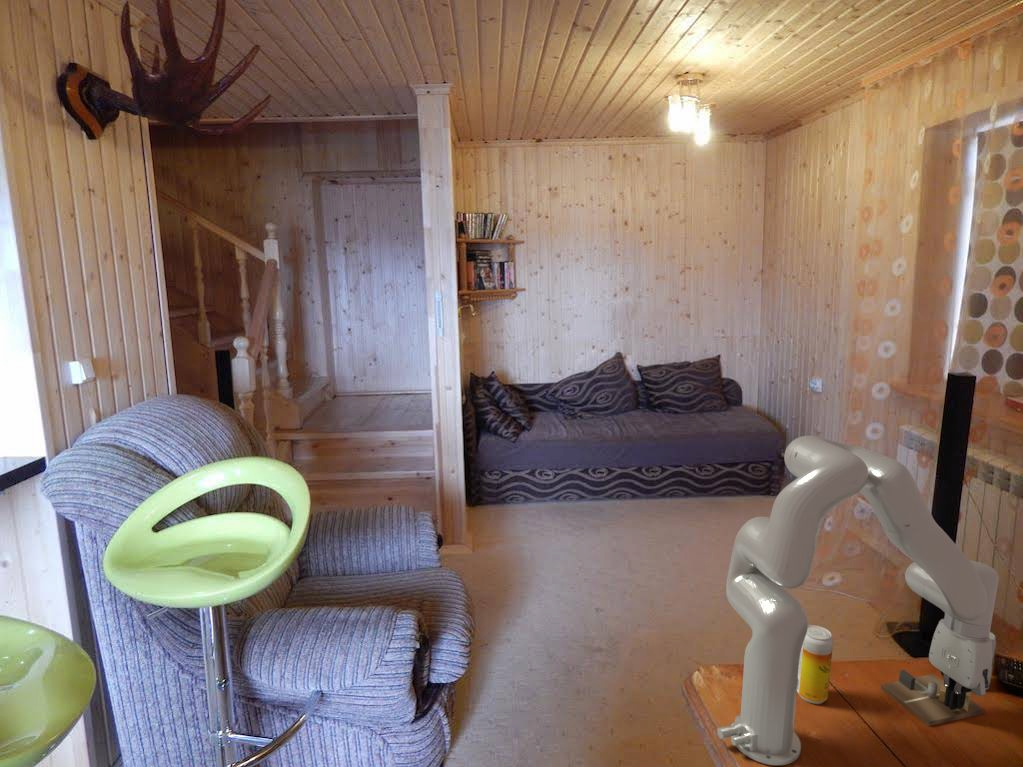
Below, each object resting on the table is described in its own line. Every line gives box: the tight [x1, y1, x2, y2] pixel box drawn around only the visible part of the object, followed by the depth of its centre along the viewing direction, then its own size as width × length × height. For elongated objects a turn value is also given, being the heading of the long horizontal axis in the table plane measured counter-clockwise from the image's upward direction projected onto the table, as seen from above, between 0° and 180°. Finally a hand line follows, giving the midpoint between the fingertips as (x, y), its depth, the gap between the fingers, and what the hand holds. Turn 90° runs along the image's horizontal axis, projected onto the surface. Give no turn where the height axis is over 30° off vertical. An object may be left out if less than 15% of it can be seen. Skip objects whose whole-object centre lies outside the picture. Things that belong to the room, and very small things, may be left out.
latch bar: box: [939, 686, 972, 712], centre depth 136 cm, size 5×2×3 cm, turn 49°
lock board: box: [880, 669, 985, 727], centre depth 138 cm, size 14×12×4 cm
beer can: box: [797, 624, 834, 705], centre depth 139 cm, size 6×6×15 cm
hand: (953, 706), depth 133 cm, fingers closed
